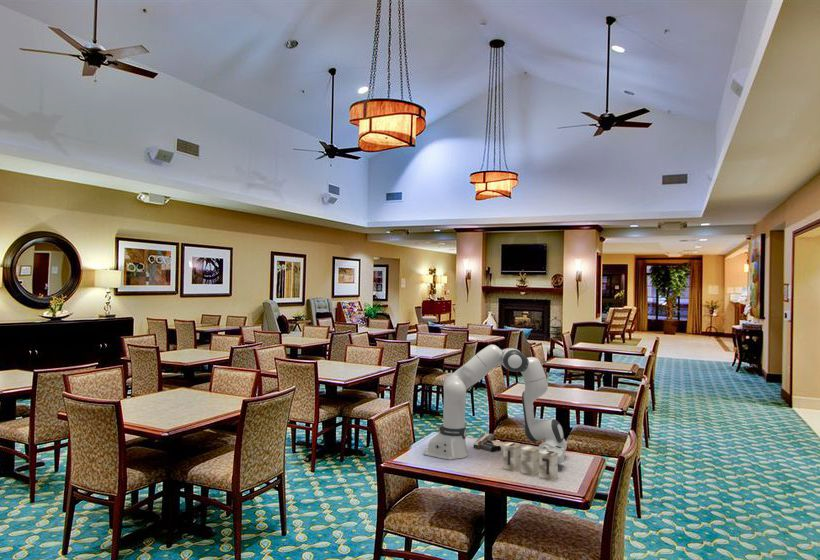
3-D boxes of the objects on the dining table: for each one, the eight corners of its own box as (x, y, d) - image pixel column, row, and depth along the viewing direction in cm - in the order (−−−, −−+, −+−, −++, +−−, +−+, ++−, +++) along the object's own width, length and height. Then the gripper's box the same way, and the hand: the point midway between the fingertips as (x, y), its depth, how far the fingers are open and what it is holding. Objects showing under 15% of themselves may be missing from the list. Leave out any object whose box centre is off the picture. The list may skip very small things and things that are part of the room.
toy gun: (498, 454, 264) (470, 450, 270) (509, 440, 291) (483, 437, 296) (498, 448, 264) (470, 444, 270) (509, 435, 291) (483, 431, 296)
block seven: (539, 477, 228) (539, 452, 229) (545, 474, 233) (545, 449, 234) (551, 481, 225) (552, 455, 225) (557, 477, 229) (557, 452, 230)
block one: (503, 468, 240) (503, 444, 240) (509, 465, 245) (509, 442, 245) (514, 471, 236) (514, 447, 236) (521, 468, 241) (521, 444, 241)
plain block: (520, 473, 234) (520, 448, 235) (526, 469, 239) (526, 445, 239) (533, 476, 230) (533, 451, 231) (538, 472, 235) (538, 448, 236)
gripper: (527, 440, 256) (514, 446, 246) (567, 448, 243) (555, 455, 233) (527, 453, 256) (514, 460, 245) (567, 462, 243) (555, 469, 232)
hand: (534, 458), depth 239 cm, fingers closed
